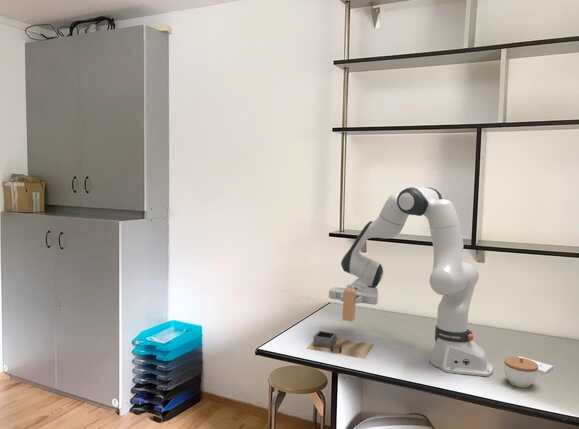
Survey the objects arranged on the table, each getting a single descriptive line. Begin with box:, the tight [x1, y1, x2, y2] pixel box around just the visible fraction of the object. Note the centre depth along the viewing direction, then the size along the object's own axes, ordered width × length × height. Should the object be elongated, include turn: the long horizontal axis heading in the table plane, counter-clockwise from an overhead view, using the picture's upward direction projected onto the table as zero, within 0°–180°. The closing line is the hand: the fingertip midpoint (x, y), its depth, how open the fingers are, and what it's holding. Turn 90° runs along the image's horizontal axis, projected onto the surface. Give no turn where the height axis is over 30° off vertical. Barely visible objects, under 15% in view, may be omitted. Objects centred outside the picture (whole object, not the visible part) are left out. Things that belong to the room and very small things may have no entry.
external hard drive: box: [518, 355, 554, 375], centre depth 187 cm, size 2×8×12 cm
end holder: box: [312, 330, 338, 349], centre depth 200 cm, size 8×8×4 cm
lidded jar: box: [503, 356, 538, 389], centre depth 170 cm, size 11×11×9 cm
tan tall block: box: [341, 284, 356, 322], centre depth 194 cm, size 4×4×14 cm
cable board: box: [305, 338, 375, 360], centre depth 199 cm, size 24×17×3 cm
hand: (348, 300), depth 193 cm, fingers closed on tan tall block, 4 cm apart
